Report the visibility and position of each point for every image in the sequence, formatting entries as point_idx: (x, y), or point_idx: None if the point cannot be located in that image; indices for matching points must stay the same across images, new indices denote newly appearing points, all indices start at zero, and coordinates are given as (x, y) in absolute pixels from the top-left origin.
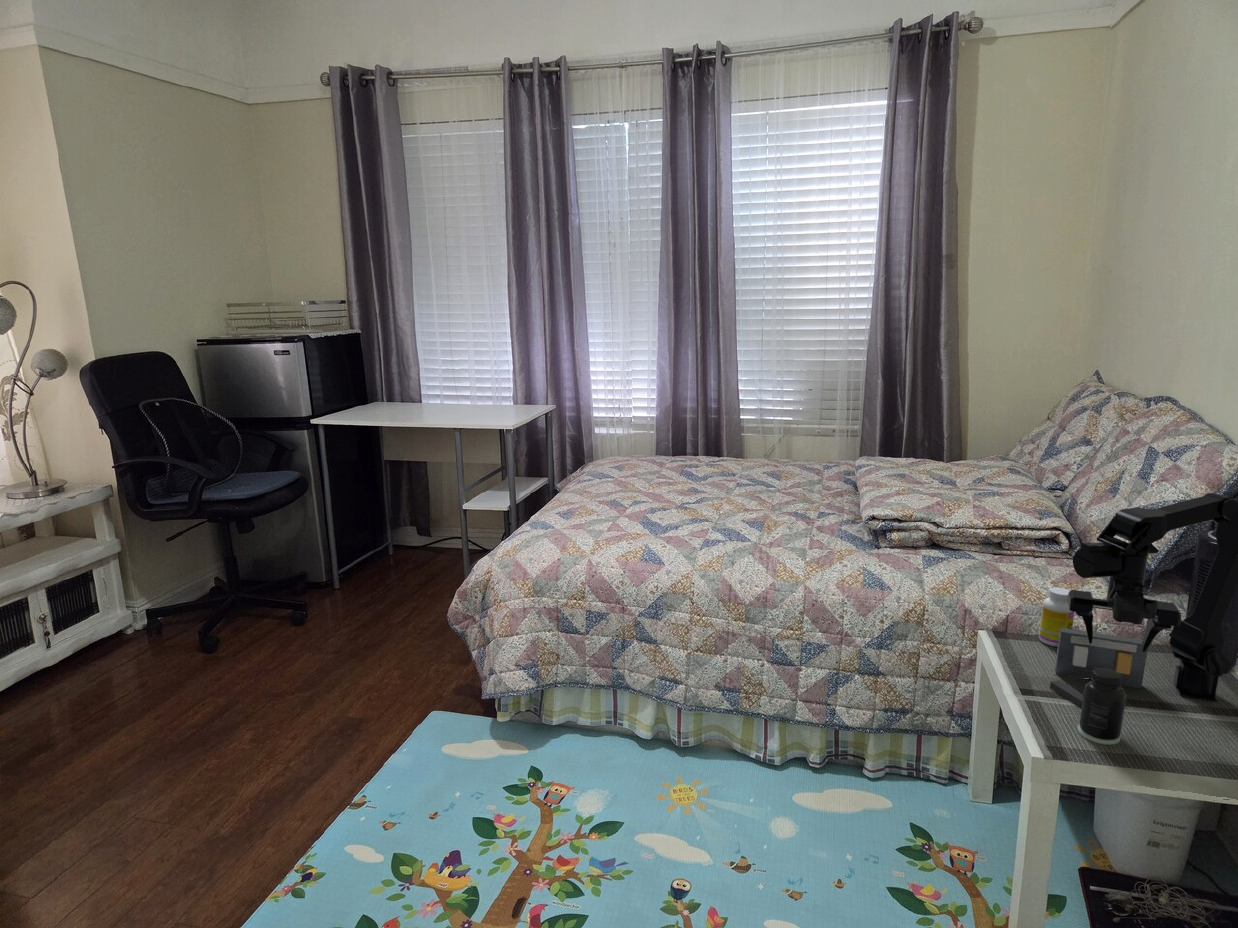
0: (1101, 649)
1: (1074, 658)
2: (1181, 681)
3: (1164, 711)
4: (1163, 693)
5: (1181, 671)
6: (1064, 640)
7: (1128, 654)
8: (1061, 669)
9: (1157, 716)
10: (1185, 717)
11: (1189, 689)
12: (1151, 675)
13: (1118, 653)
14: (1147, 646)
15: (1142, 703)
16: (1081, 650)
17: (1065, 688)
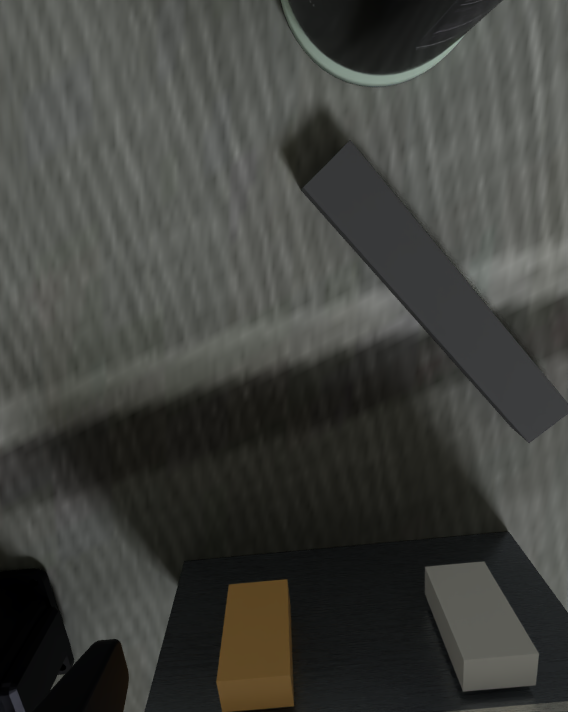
0: (382, 700)
1: (500, 592)
2: (23, 637)
3: (92, 405)
4: (105, 560)
5: (2, 688)
6: None
7: (237, 702)
8: (500, 552)
9: (116, 342)
10: (11, 392)
11: (2, 607)
12: (151, 677)
13: (292, 690)
14: (41, 708)
15: (178, 435)
16: (497, 646)
17: (512, 369)
